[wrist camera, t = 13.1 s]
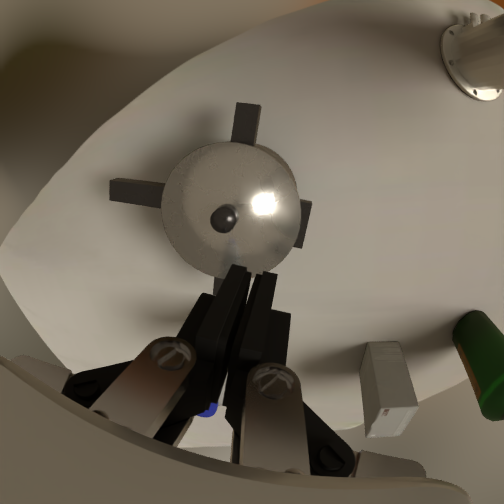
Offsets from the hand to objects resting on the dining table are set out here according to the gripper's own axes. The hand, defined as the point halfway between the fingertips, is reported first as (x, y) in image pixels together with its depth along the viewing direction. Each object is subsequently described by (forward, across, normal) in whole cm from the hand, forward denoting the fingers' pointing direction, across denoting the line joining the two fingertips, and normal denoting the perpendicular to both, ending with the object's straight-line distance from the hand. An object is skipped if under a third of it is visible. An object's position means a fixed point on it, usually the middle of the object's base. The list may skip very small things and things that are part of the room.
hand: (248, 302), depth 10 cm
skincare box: (+29, -23, +27) cm, 46 cm away
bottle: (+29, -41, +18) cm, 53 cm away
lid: (+19, +5, +3) cm, 20 cm away
